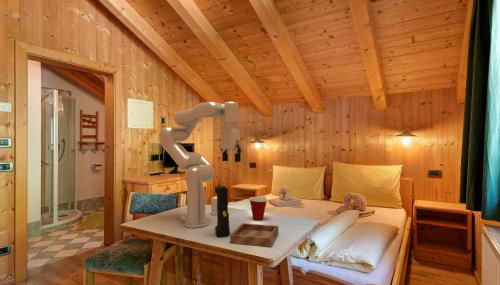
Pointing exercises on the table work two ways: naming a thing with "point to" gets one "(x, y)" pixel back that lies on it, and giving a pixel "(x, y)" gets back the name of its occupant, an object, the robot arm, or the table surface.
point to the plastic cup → (258, 207)
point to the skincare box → (214, 206)
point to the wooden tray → (254, 235)
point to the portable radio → (222, 212)
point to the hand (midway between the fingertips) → (231, 161)
